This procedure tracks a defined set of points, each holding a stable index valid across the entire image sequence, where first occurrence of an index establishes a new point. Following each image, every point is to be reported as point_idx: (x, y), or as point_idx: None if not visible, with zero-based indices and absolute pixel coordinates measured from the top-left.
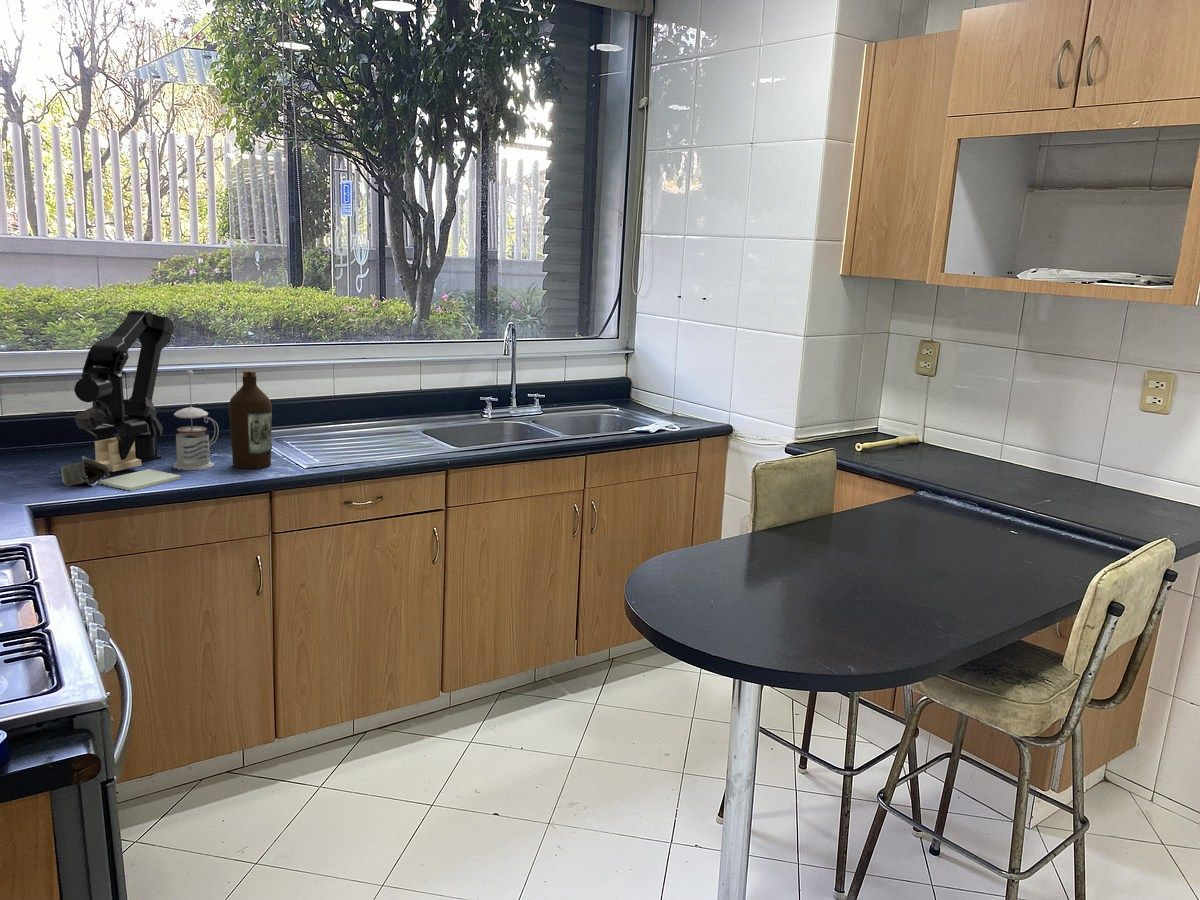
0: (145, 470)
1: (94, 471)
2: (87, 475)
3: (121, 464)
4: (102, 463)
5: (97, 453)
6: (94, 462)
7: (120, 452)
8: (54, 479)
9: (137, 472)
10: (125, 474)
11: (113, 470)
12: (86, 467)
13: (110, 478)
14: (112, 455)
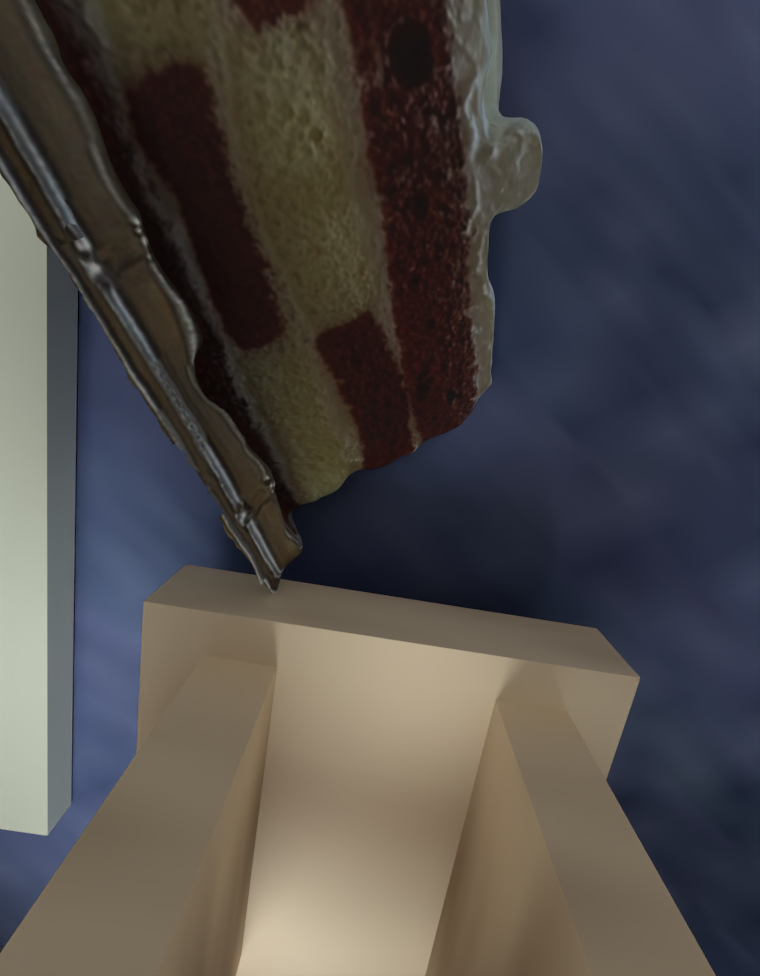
0: (26, 784)
1: (316, 406)
2: (453, 421)
3: (142, 721)
4: (373, 639)
5: (570, 821)
6: (77, 241)
7: None
8: (717, 122)
9: (18, 693)
10: (42, 574)
11: (179, 575)
12: (202, 119)
13: (11, 342)
14: (120, 779)
